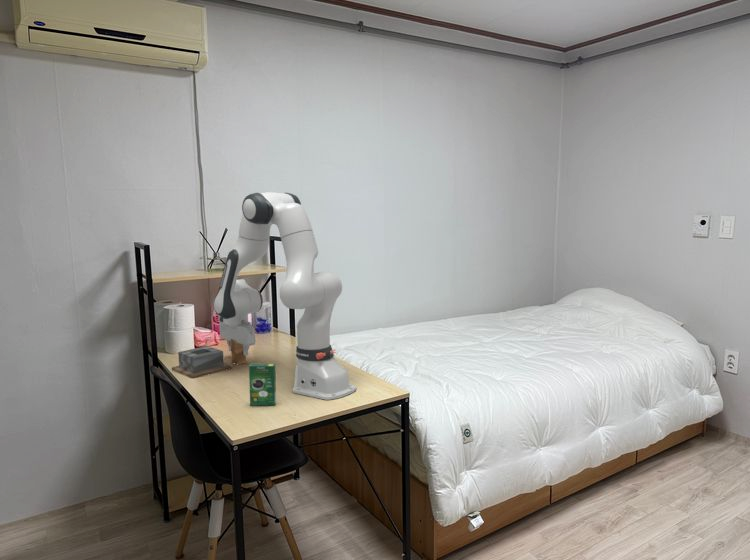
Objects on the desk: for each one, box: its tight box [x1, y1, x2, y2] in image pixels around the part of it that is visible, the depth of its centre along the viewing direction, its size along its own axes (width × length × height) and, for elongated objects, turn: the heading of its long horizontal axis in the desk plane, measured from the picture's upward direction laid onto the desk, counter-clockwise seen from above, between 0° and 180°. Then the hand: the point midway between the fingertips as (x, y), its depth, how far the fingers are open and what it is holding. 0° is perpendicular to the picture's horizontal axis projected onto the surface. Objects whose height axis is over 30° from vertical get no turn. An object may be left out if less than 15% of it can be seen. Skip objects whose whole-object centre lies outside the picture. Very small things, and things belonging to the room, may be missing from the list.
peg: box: [230, 339, 247, 365], centre depth 207 cm, size 4×4×10 cm
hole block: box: [171, 345, 232, 379], centre depth 200 cm, size 16×16×7 cm
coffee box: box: [248, 363, 277, 407], centre depth 162 cm, size 8×3×13 cm, turn 91°
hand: (238, 352), depth 207 cm, fingers open, 8 cm apart
